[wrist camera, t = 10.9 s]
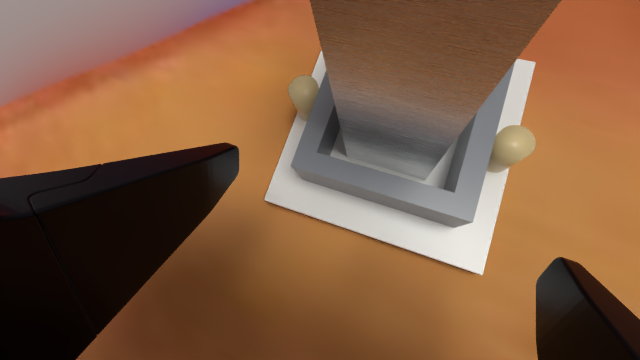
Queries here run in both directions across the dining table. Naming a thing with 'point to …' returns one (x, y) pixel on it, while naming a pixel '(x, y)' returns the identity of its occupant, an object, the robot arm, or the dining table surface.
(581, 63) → the dining table surface
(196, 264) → the dining table surface
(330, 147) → the housing plate
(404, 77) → the grey metal square bar
